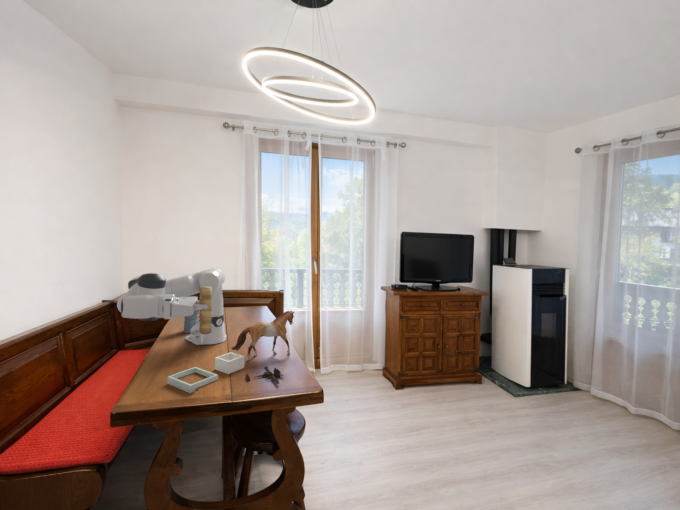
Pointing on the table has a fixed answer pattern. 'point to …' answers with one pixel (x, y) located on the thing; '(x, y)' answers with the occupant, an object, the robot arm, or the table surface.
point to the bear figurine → (268, 375)
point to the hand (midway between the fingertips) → (208, 304)
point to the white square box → (229, 362)
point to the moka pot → (190, 321)
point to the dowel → (205, 310)
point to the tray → (191, 388)
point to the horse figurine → (266, 332)
